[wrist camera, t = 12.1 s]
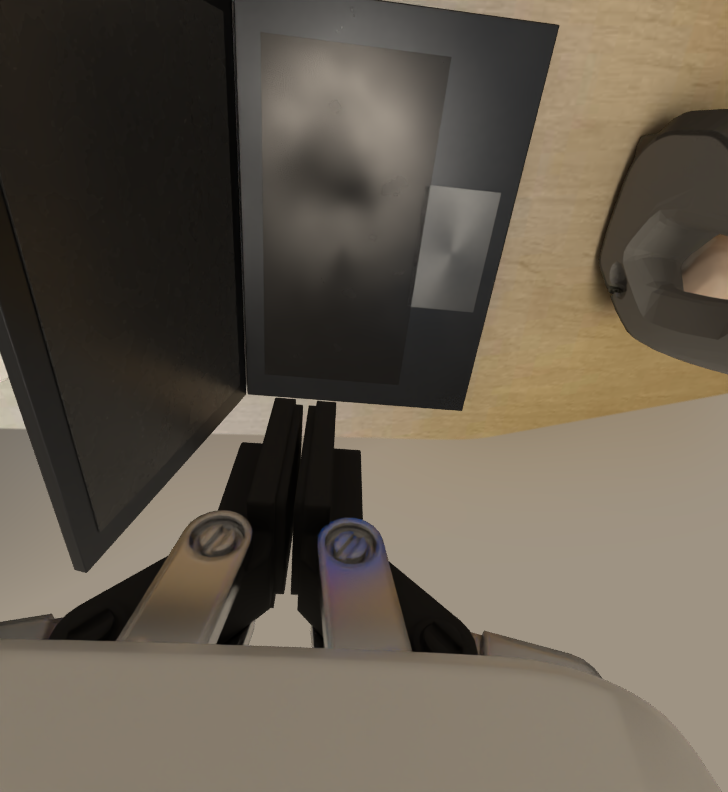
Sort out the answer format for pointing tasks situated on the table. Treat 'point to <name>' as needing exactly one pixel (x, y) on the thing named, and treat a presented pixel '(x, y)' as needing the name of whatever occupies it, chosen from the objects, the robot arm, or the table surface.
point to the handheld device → (671, 239)
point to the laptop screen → (118, 246)
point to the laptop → (377, 190)
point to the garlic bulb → (708, 269)
